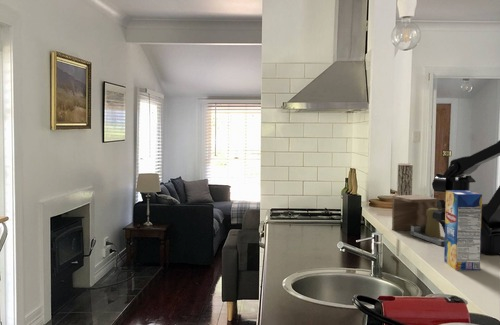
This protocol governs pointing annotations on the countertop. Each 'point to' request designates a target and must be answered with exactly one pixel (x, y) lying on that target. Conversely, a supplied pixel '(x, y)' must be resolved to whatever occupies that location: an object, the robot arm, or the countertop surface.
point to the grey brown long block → (420, 232)
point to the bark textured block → (404, 179)
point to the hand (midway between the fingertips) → (459, 239)
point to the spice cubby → (410, 210)
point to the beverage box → (463, 229)
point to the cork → (432, 224)
